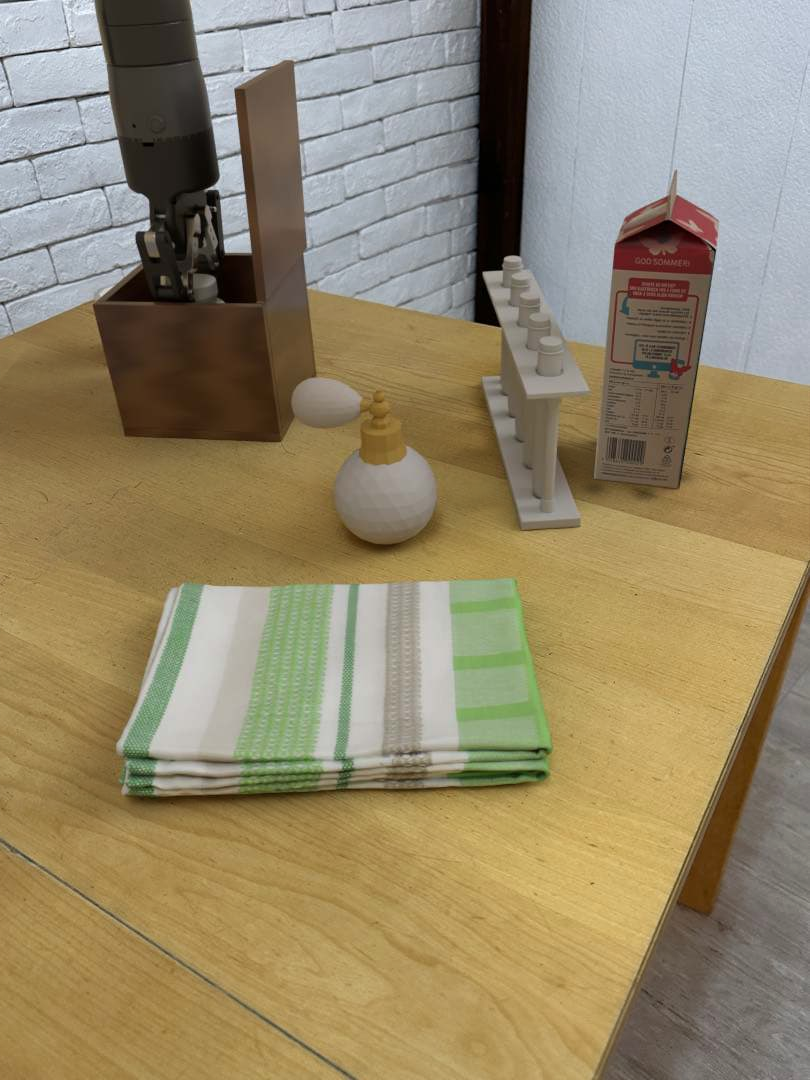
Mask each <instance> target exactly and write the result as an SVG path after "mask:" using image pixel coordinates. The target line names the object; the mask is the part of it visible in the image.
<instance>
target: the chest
mask: <svg viewBox="0 0 810 1080" xmlns="http://www.w3.org/2000/svg"><path fill="white" fill-rule="evenodd" d="M185 259H186V257H176V260H177V261H184V260H185ZM218 260H219V264H220V269H219V272H218V273H216V274H217V276H218V282H219V289H220V295H221V300H222V301H224V302H225V303H173V302H168V301H167V300H154V299H153V297H152V294H151V291H150V288H149V284H148V281H147V278H146V274H145V271H144V268H143V264H142V262H140V264H138V265H137V266H136V267H135V268H134V269H133V270H131V271H130V272H129V273H128V274H127V275H126V276H124V277H123V278H122V279H120V280H119V281H118V282H116V283H117V284H116V285H115V286H114V287H113V288H111V289H110V290H109V291H108V292H107V293H105V294H104V295H103V296H102V297H101V298H100V299H98V300H97V301H96V302H95V301H94V302H93V304H92V309H93V313H94V317H95V320H96V325H97V330H98V333H99V336H100V340H101V345H102V349H103V352H104V353H103V354H104V357H105V360H106V365H107V368H108V373H109V376H110V380H111V384H112V388H113V393H114V397H115V401H116V405H117V408H118V409H117V410H118V413H119V417H120V420H121V425H122V429H123V433H124V436H125V437H146V438H169V439H170V438H175V439H196V440H198V439H200V440H201V439H202V440H223V441H224V440H227V441H252V442H277V443H278V442H280V443H281V442H282V440H283V439H284V437H285V436H286V433H287V431H288V429H289V428H290V425H291V424H292V422H293V420H294V418H295V417H296V416H295V415H294V413H293V410H292V405H291V399H292V394H293V392H294V390H295V388H296V387H297V385H299V384H300V383H301V382H302V381H305V380H307V379H309V378H316V377H317V366H316V358H315V350H314V349H315V348H314V340H313V330H312V329H313V328H312V321H311V311H310V301H309V293H308V283H307V273H306V265H305V255H304V253H303V254H302V255H301V257H300V258H299V259H298V261H297V262H296V263H295V264H294V266H293V267H292V268H291V270H290V271H289V272H288V274H287V275H286V276H285V278H284V279H283V280H282V282H281V283H280V284H279V285H278V287H277V288H276V289H275V291H274V292H273V293H272V295H271V296H270V297H269V299H268V300H267V301H266V302H265V301H257V298H256V288H255V279H254V270H253V260H252V252H225V256H224V259H218ZM194 273H196V272H194ZM194 273H193V274H194ZM180 275H181V276H183V274H182V271H180ZM159 280H160V283H161V277H160V276H159Z"/></svg>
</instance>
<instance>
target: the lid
mask: <svg viewBox="0 0 810 1080" xmlns="http://www.w3.org/2000/svg"><path fill="white" fill-rule="evenodd" d="M233 91H234V92H233V93H234V100H235V101H234V102H235V109H236V120H237V129H238V138H239V145H240V146H239V147H240V156H241V165H242V166H241V167H242V175H243V185H244V194H245V203H246V205H245V206H246V211H247V224H248V232H249V242H250V249H251V250H250V251H251V253H252V260H253V270H254V279H255V288H256V298H257V301H265V302H266V301H267V300H268V299H269V297H270V296H271V295H272V293H273V292H274V291H275V289H276V288H277V287H278V285H279V284H280V283H281V282H282V280H283V279H284V278H285V276H286V275H287V274H288V272H289V271H290V270H291V268H292V267H293V266H294V264H295V263H296V262H297V261H298V259H299V258H300V257H301V255H302V254H303V255H304V253H305V252H306V250H307V249H308V241H307V228H306V215H305V214H306V213H305V199H304V186H303V185H304V184H303V174H302V173H303V171H302V170H303V169H302V158H301V143H300V131H299V130H300V128H299V117H298V116H299V115H298V102H297V101H298V100H297V87H296V73H295V61H294V59H284V60H282V61H281V62H279V63H277V64H275V65H273V66H271V67H270V68H268V69H266V70H264V71H263V72H261V73H259V74H258V75H256V76H254V77H252V78H251V79H248V80H247V81H245V82H244V83H242V84H240V85H238V86H236V87H235V88H234V89H233Z"/></svg>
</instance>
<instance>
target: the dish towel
mask: <svg viewBox="0 0 810 1080" xmlns="http://www.w3.org/2000/svg"><path fill="white" fill-rule="evenodd" d="M517 583H518V580H517V579H516V578H514V577H500V578H492V579H490V578H489V579H456V580H454V579H453V580H452V579H451V580H437V581H436V580H435V581H433V580H432V581H431V580H421V581H419V580H418V581H416V580H415V581H414V580H412V581H399V582H398V581H397V582H396V581H395V582H387V583H353V584H351V583H349V584H348V583H347V584H343V583H341V584H339V583H298V584H286V585H273V586H272V585H271V586H247V585H245V586H242V585H240V586H239V585H237V586H235V585H224V586H223V585H212V584H205V583H196V582H184V583H181V584H179V587H171V588H170V589H169V592H168V593H167V594H166V597H165V598H166V599H165V601H164V604H163V608H162V611H161V616H160V619H159V622H158V624H157V628H156V629H157V630H156V634H155V637H154V638H155V639H154V641H153V643H152V648H151V651H150V654H149V657H148V661H147V664H146V667H145V671H144V675H143V678H142V682H141V684H140V689H139V693H138V697H137V700H136V702H135V705H134V707H133V710H132V712H131V714H130V716H129V719H128V721H127V723H126V725H124V728H123V730H122V733H121V736H120V738H119V740H118V741H117V742H116V745H115V751H116V755H117V756H118V757H125V758H124V762H123V766H122V772H121V777H119V779H118V783H119V784H120V785H121V786H122V788H121V791H120V793H121V795H122V796H129V795H130V796H131V795H132V796H136V797H137V796H138V797H150V798H154V797H175V796H209V795H210V796H211V795H215V796H217V795H252V794H265V793H266V794H267V793H272V794H277V793H291V792H292V793H306V792H307V793H308V792H318V791H329V790H330V791H331V790H346V789H388V790H398V789H405V790H406V789H407V790H412V789H428V788H444V787H460V788H461V787H462V788H463V787H485V786H497V785H498V786H499V785H506V784H509V785H510V784H511V785H512V784H515V785H516V784H521V783H541V782H543V781H545V780H546V779H548V778H550V776H551V770H550V768H551V767H550V764H549V761H548V758H547V756H548V755H550V754H551V753H552V752H553V751H554V747H553V740H552V735H551V731H550V729H549V724H548V720H547V716H546V711H545V708H544V704H543V701H542V697H541V693H540V690H539V685H538V681H537V677H536V673H535V666H534V659H533V656H532V653H531V652H532V651H531V650H530V645H529V642H528V637H527V632H526V626H525V620H524V607H523V602H522V599H521V597H520V594H519V592H518V587H517Z"/></svg>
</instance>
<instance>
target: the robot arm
mask: <svg viewBox="0 0 810 1080" xmlns="http://www.w3.org/2000/svg"><path fill="white" fill-rule="evenodd" d="M93 3H94V11H95V16H96V22H97V24H98V25H97V26H98V32H99V36H100V42H101V46H102V51H103V56H104V62H105V63H106V71H107V83H108V92H109V93H108V94H109V95H108V96H109V101H110V107H111V111H112V115H113V121H114V125H115V130H116V135H117V136H116V137H117V141H118V145H119V151H120V155H121V161H122V165H123V170H124V174H125V179H126V184H127V187H128V188H129V189H130V190H131V191H132V192H133V193H135V194H139V195H142V196H144V197H145V198H146V199H147V200H148V209H149V211H148V212H149V228H148V229H147V230H137V231H136V232H135V235H134V241H135V244H136V248H137V251H138V254H139V258H140V262H141V263H142V264H143V268H144V271H145V274H146V278H147V281H148V284H149V288H150V291H151V294H152V297H153V299H154V300H167V301H168V302H173V303H196V302H195V298H193V296H194V287H193V273H194V272H196V273H194V274H208V275H211V276H213V277H215V278H216V282H217V288H218V295H217V298H219V299H221V295H220V289H219V282H218V276H217V274H216V273H218V272H219V269H220V264H219V260H218V259H224V256H225V253H226V251H225V239H224V228H223V218H222V217H223V215H222V205H221V194H220V191H219V189H210V188H212V187H214V186H215V185H216V184H218V182H219V181H220V177H221V174H220V166H219V162H218V161H219V159H218V153H217V147H216V140H215V133H214V127H213V126H214V125H213V120H212V113H211V107H210V99H209V94H208V89H207V84H206V80H205V77H204V72H203V69H202V65H201V61H200V57H199V50H198V43H197V37H196V29H195V23H194V17H193V10H192V5H191V0H93ZM176 257H186V259H185V260H184V261H177V260H176ZM180 271H182V274H183V282H182V278H181V275H180ZM159 276H160V277H161V283H160V280H159Z"/></svg>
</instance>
